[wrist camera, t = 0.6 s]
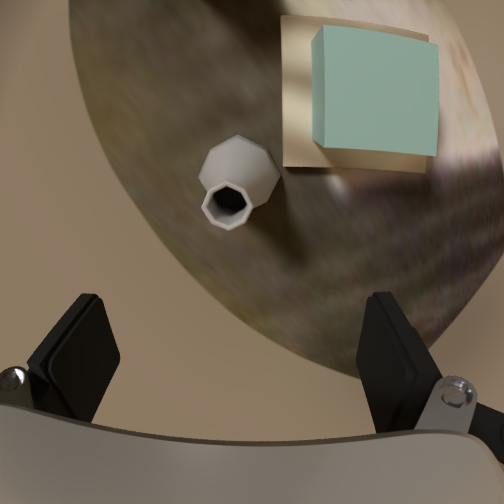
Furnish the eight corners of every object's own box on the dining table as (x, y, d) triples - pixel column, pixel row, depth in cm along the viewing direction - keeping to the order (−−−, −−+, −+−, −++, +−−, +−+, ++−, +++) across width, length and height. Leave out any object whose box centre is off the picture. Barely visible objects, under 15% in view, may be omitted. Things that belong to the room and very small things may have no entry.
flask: (294, 174, 29) (308, 206, 20) (241, 226, 32) (231, 277, 22) (237, 120, 27) (223, 126, 18) (185, 177, 30) (151, 209, 21)
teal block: (310, 41, 23) (323, 24, 17) (406, 53, 22) (437, 44, 17) (311, 139, 26) (324, 147, 21) (405, 145, 26) (436, 156, 21)
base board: (280, 18, 23) (280, 15, 22) (422, 37, 22) (428, 35, 21) (282, 164, 29) (283, 166, 28) (420, 170, 28) (425, 173, 27)
